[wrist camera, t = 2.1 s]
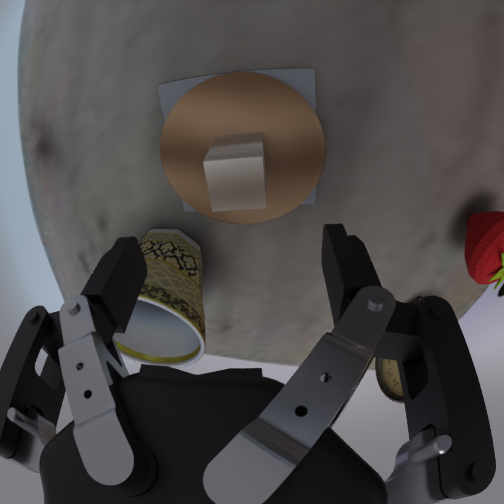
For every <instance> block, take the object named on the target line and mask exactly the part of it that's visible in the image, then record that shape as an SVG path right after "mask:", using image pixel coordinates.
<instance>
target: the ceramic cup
mask: <svg viewBox="0 0 504 504" xmlns="http://www.w3.org/2000/svg"><path fill="white" fill-rule="evenodd" d="M139 245H140V248H141V251H142V253H143V256H144V258H145V261H146V263H147V270H148V271H147V277H146V280H145V282H144V284H143V287H142V289H141V292H140V294H139V297H138V299H137V302H136V304H135V307H134V310H133V312H132V315H131V318H130V320H129V323H128V326H127V328H126V331H125V334H124V333H114V335H113V338H114V340H115V342H116V344H117V347H118V349H119V352H120V354H121V356H122V357H125V358H127V359H129V360H132V361H134V362H137V363H141V364H147V365H159V366H169V367H172V368H179V367H184V366H188V365H191V364H193V363H195V362H196V361H198V360H199V359H200V358H201V357H202V356H203V354H204V352H205V316H204V309H203V303H202V260H201V251H200V246H199V245H198V244H197V243H196V242H194V241H193V240H192V239H191V238H189V237H188V236H187V235H186V234H184V233H183V232H182V231H180V230H179V229H151V230H150V231H149V232H148V233H147V234H146V235H145V236H144V237H143V238H142V239H141V240H140V241H139Z"/></svg>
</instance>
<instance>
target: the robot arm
mask: <svg viewBox="0 0 504 504" xmlns="http://www.w3.org/2000/svg"><path fill="white" fill-rule="evenodd" d="M322 269H323V273H324V278H325V282H326V287H327V292H328V296H329V301H330V306H331V311H332V316H333V321H334V326H335V328H334V329H333V331H332V332H331V333H328V332H327V333H325V334H324V335H323V336H322V338H321V339H320V340H319V342H318V343H317V344H316V346H315V347H314V348H313V350H312V351H311V353H310V354H309V355H308V356H307V358H306V359H305V360H304V362H303V363H302V364H301V366H300V367H299V368H298V370H297V371H296V372H295V373H294V375H293V376H292V377H291V378H290V380H289V381H288V382H287V383H286V385H285V384H283V383H281V382H279V381H277V380H274V379H271V378H267V377H263V374H262V369H261V368H245V369H243V368H241V369H240V368H237V369H236V368H235V369H234V368H229V369H225V370H220V371H215V372H210V373H205V374H201V375H195V374H191V373H188V372H184V371H181V370H178V369H175V368H172V367H169V366H159V365H147V364H141V368H140V372H139V373H135V374H132V375H129V373H128V371H127V369H126V367H125V364H124V362H123V360H122V357H121V354H120V352H119V349H118V347H117V344H116V342H115V340H114V338H113V335H114V333H124V334H125V331H126V328H127V326H128V323H129V320H130V318H131V315H132V312H133V310H134V307H135V304H136V302H137V299H138V297H139V294H140V292H141V289H142V287H143V284H144V282H145V280H146V277H147V271H148V270H147V263H146V261H145V258H144V256H143V253H142V251H141V248H140V245H139V243H138V240H137V238H136V237H134V236H133V237H122V238H118V239H117V241H116V242H115V244H114V246H113V247H112V249H110V250H109V251H108V252H107V253H106V254H105V255H104V256H103V257H102V258H101V260H100V261H99V263H98V265H97V267H96V268H95V270H94V271H93V272H94V273H92V275H91V276H90V278H89V280H88V282H87V284H86V285H85V287H84V289H83V291H82V293H81V294H80V295H76V296H73V297H71V298H69V299H68V300H67V301H66V302H65V303H64V304H63V305H62V307H61V309H60V311H57V312H53V313H50V314H49V313H48V312H47V310H46V309H45V308H44V307H43V306H36V307H34V308H32V309H31V310H30V311H29V312H28V313H27V314H26V315H25V317H24V319H23V321H22V323H21V325H20V327H19V329H18V331H17V333H16V335H15V337H14V339H13V342H12V344H11V346H10V348H9V350H8V353H7V355H6V358H5V360H4V362H3V365H2V367H1V370H0V456H1V457H3V458H4V459H6V460H8V461H10V462H12V463H14V464H16V465H19V466H21V467H23V468H27V469H30V470H32V471H34V472H37V473H40V476H41V480H42V485H43V492H44V503H45V504H434V503H440V502H445V501H450V500H455V499H459V498H464V497H468V496H472V495H475V494H478V493H480V492H482V491H483V490H485V489H486V488H487V487H488V485H489V484H490V483H491V481H492V479H493V477H494V474H495V470H496V460H495V453H494V447H493V440H492V435H491V429H490V424H489V419H488V415H487V410H486V406H485V402H484V398H483V395H482V391H481V387H480V383H479V380H478V377H477V373H476V370H475V367H474V364H473V361H472V358H471V355H470V352H469V349H468V346H467V344H466V341H465V338H464V336H463V333H462V330H461V328H460V325H459V323H458V320H457V318H456V315H455V313H454V311H453V309H452V307H451V305H450V304H449V303H448V302H447V301H446V300H444V299H443V298H440V297H437V296H427V297H425V298H423V299H422V300H421V301H420V303H419V305H414V304H408V303H402V302H399V301H396V300H395V298H394V296H393V295H392V293H390V292H389V291H388V290H387V289H385V288H382V286H381V283H380V281H379V278H378V276H377V273H376V271H375V268H374V266H373V263H372V261H371V259H370V256H369V254H368V253H367V249H366V247H365V245H364V243H363V242H362V241H361V240H360V239H359V238H358V237H357V236H356V235H351V236H347V233H346V231H345V228H344V226H343V224H324V227H323V242H322ZM41 348H42V349H43V350H44V351H45V352H46V353H47V354H48V356H47V359H46V362H45V364H44V367H43V370H42V373H41V375H40V376H38V374H37V373H36V371H35V362H36V359H37V357H38V355H39V352H40V350H41ZM374 357H376V358H382V359H389V360H395V361H397V366H398V371H399V376H400V381H401V386H402V392H403V398H404V404H405V410H406V417H407V424H408V432H409V441H408V442H406V443H405V444H404V445H402V447H401V448H400V449H399V451H398V452H397V455H396V461H395V467H394V470H393V472H392V474H391V475H390V476H389V478H388V479H387V480H385V481H383V479H382V478H381V477H380V475H379V474H378V473H377V472H376V471H375V470H374V469H373V468H372V467H371V466H370V465H368V463H366V462H365V461H364V460H363V459H362V458H361V457H360V456H359V455H358V454H357V453H356V452H355V451H354V450H353V449H352V448H350V446H349V445H347V444H346V442H344V441H343V440H342V439H341V438H340V437H339V436H338V435H337V434H336V433H335V432H334V431H333V430H332V429H331V428H332V427H333V425H334V424H335V422H336V421H337V419H338V418H339V416H340V415H341V413H342V412H343V410H344V408H345V407H346V405H347V404H348V402H349V400H350V398H351V397H352V395H353V393H354V392H355V390H356V388H357V387H358V385H359V383H360V381H361V380H362V378H363V376H364V375H365V373H366V371H367V369H368V367H369V366H370V364H371V362H372V360H373V358H374ZM65 391H66V392H67V396H68V400H69V404H70V408H71V411H72V415H73V418H74V420H73V421H72V422H70V423H69V424H68V425H67V426H66V427H65V428H63V429H62V430H61V431H60V432H59V433H58V434H57V435H56V426H57V421H58V417H59V413H60V409H61V406H62V402H63V398H64V395H65Z"/></svg>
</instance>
